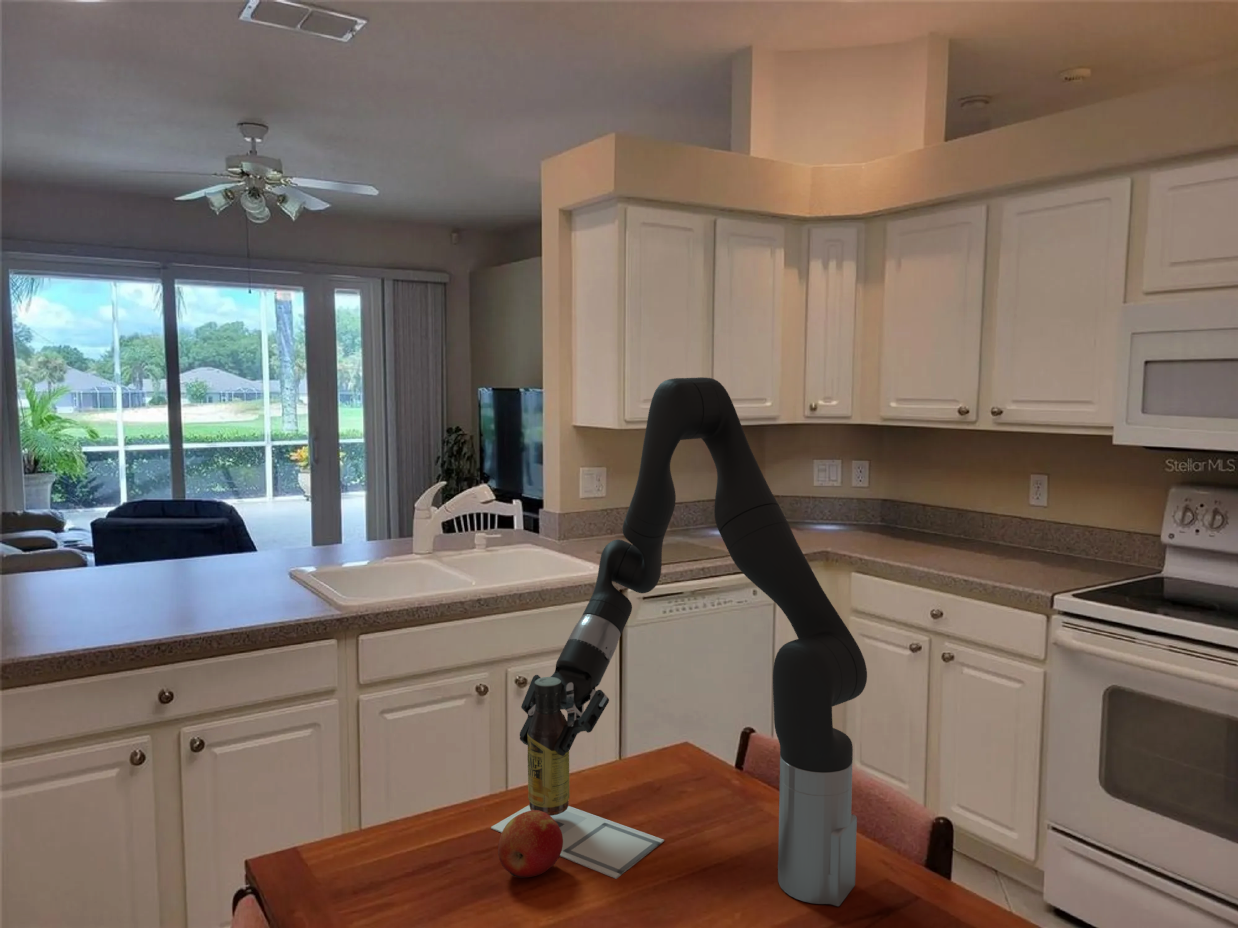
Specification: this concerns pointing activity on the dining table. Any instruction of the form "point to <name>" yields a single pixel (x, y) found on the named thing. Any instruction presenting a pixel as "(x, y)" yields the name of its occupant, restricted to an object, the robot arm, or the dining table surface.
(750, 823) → the dining table surface
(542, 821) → the apple
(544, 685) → the sauce bottle
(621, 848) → the mat
